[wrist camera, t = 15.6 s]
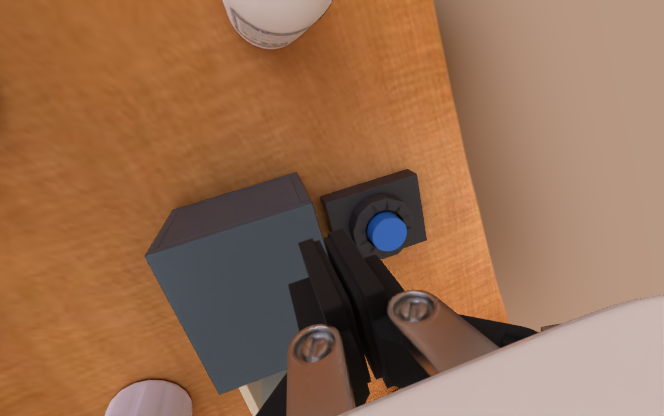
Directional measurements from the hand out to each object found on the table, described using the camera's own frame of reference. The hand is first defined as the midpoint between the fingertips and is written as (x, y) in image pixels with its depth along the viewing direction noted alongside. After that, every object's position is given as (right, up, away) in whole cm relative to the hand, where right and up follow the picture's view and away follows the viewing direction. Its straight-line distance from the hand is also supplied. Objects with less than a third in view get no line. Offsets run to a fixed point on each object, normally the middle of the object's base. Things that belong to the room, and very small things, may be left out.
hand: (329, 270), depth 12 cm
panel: (+5, +1, +26) cm, 26 cm away
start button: (+5, 0, +23) cm, 23 cm away
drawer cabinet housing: (-8, -2, +24) cm, 26 cm away
